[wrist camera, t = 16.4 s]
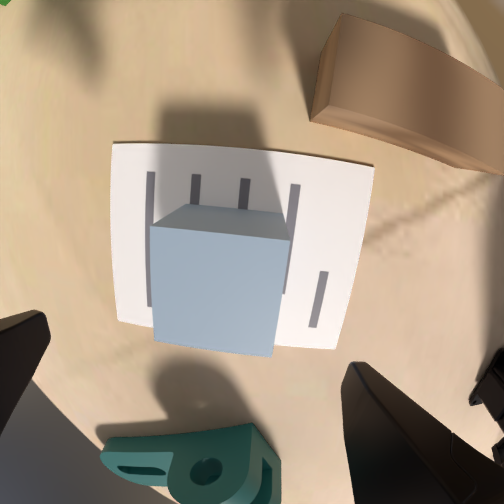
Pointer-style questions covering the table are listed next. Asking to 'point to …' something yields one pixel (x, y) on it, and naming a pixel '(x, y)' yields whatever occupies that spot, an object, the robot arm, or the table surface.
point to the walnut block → (409, 96)
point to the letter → (251, 198)
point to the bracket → (201, 465)
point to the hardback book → (4, 2)
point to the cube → (218, 278)
